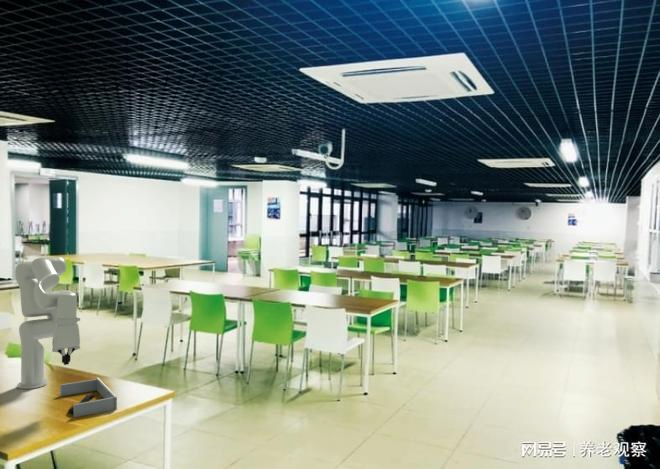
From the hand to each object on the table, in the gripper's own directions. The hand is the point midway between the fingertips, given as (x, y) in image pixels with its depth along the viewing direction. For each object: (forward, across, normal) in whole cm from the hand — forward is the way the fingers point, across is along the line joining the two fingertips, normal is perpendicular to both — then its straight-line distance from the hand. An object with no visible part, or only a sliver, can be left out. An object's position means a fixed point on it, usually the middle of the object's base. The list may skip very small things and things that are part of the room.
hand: (66, 363), depth 216 cm
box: (+18, -9, +1) cm, 20 cm away
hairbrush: (+19, -7, +3) cm, 20 cm away
